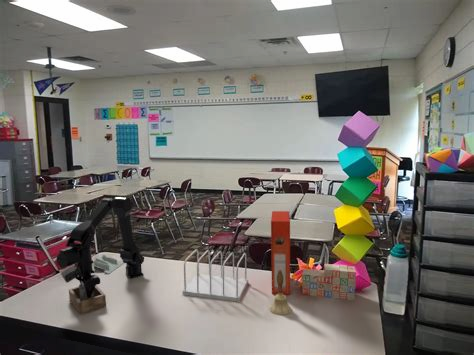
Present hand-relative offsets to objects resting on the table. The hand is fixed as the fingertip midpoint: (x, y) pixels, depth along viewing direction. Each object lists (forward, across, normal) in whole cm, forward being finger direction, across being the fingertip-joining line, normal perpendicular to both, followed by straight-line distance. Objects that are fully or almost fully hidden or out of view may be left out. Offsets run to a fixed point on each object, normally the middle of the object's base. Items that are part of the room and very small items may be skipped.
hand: (87, 294), depth 140 cm
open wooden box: (+4, 0, 0) cm, 4 cm away
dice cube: (+1, 0, 0) cm, 1 cm away
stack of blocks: (+4, +60, +80) cm, 100 cm away
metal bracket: (+5, -33, +19) cm, 38 cm away
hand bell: (+4, +55, +56) cm, 79 cm away
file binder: (+4, +41, +71) cm, 82 cm away
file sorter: (+4, +24, +47) cm, 53 cm away
